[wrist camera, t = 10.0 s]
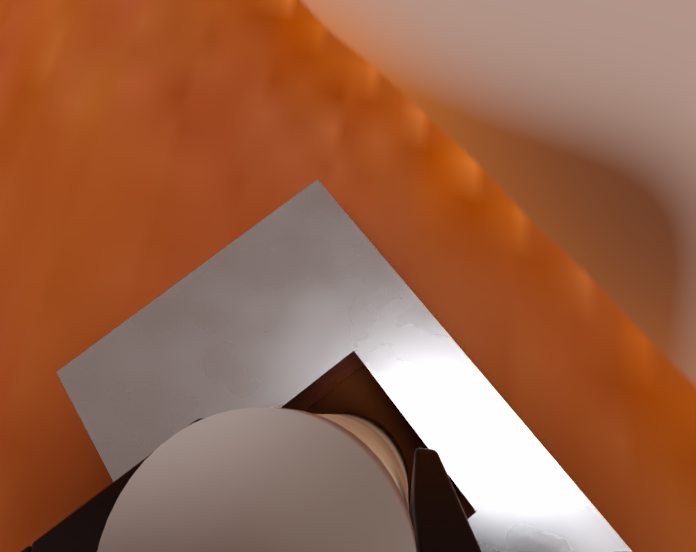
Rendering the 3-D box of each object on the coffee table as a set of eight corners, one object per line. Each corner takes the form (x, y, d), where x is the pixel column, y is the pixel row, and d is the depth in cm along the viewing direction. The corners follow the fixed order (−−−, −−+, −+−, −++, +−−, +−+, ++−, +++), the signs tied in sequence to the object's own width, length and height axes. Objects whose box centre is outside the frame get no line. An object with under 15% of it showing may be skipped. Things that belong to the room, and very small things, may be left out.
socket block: (374, 813, 14) (363, 961, 10) (127, 380, 19) (56, 372, 15) (632, 584, 15) (709, 643, 11) (334, 225, 20) (317, 179, 16)
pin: (260, 506, 15) (27, 657, 6) (319, 388, 16) (198, 354, 7) (375, 576, 14) (319, 892, 5) (432, 448, 15) (476, 505, 6)
